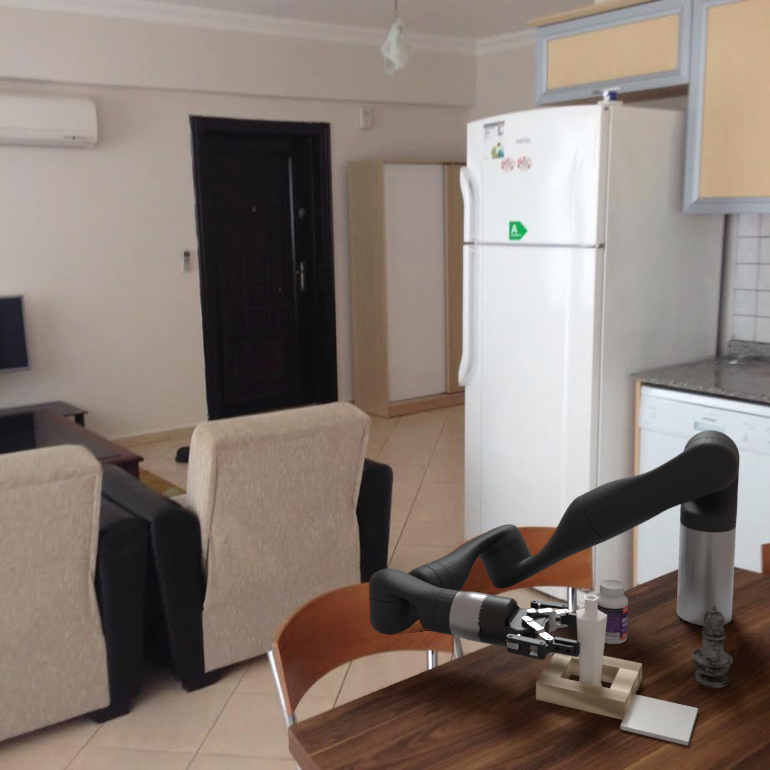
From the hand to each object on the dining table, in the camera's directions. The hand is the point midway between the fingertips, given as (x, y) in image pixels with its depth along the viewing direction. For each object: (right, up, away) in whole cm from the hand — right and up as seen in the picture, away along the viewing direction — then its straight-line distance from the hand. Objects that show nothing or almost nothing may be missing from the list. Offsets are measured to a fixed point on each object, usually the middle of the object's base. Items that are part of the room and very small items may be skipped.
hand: (586, 636), depth 129 cm
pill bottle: (+8, -5, +17) cm, 20 cm away
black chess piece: (+20, -8, +4) cm, 22 cm away
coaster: (+9, -10, -7) cm, 15 cm away
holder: (+1, -8, +1) cm, 9 cm away
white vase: (+1, -9, +1) cm, 9 cm away
